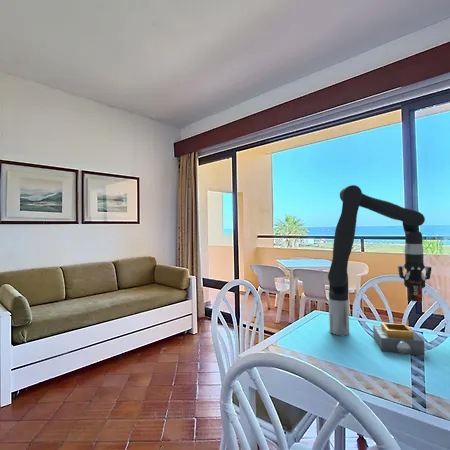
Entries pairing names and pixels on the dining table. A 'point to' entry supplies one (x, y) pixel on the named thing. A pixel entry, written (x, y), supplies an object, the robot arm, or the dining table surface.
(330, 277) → the robot arm
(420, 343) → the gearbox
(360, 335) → the dining table surface
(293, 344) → the dining table surface
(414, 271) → the deodorant
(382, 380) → the dining table surface
